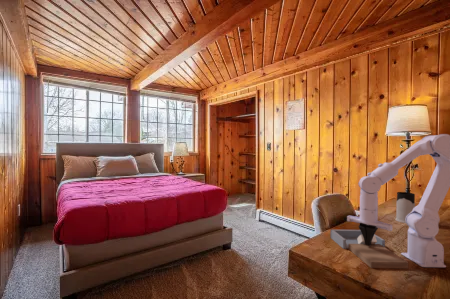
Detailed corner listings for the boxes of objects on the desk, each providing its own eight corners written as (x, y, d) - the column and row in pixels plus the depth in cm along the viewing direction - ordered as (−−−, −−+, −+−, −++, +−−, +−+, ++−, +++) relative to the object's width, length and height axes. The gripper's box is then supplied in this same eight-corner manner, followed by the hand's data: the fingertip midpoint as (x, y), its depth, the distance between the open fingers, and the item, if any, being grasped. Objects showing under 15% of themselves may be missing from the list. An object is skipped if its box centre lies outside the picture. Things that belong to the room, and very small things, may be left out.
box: (384, 249, 88) (384, 240, 88) (343, 248, 89) (343, 239, 89) (367, 238, 99) (367, 229, 99) (330, 237, 100) (330, 229, 100)
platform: (408, 268, 74) (408, 262, 74) (371, 267, 75) (371, 261, 75) (379, 249, 88) (379, 244, 88) (348, 248, 89) (348, 243, 89)
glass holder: (393, 220, 124) (393, 193, 123) (399, 215, 133) (400, 189, 133) (414, 224, 117) (414, 195, 117) (419, 219, 126) (419, 192, 126)
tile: (376, 241, 87) (375, 235, 88) (362, 241, 87) (360, 234, 89) (372, 245, 90) (370, 239, 92) (358, 244, 91) (357, 238, 93)
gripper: (395, 210, 83) (394, 248, 83) (352, 203, 94) (352, 236, 94) (389, 214, 78) (388, 253, 78) (344, 205, 89) (344, 240, 90)
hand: (368, 244), depth 86 cm, fingers closed
